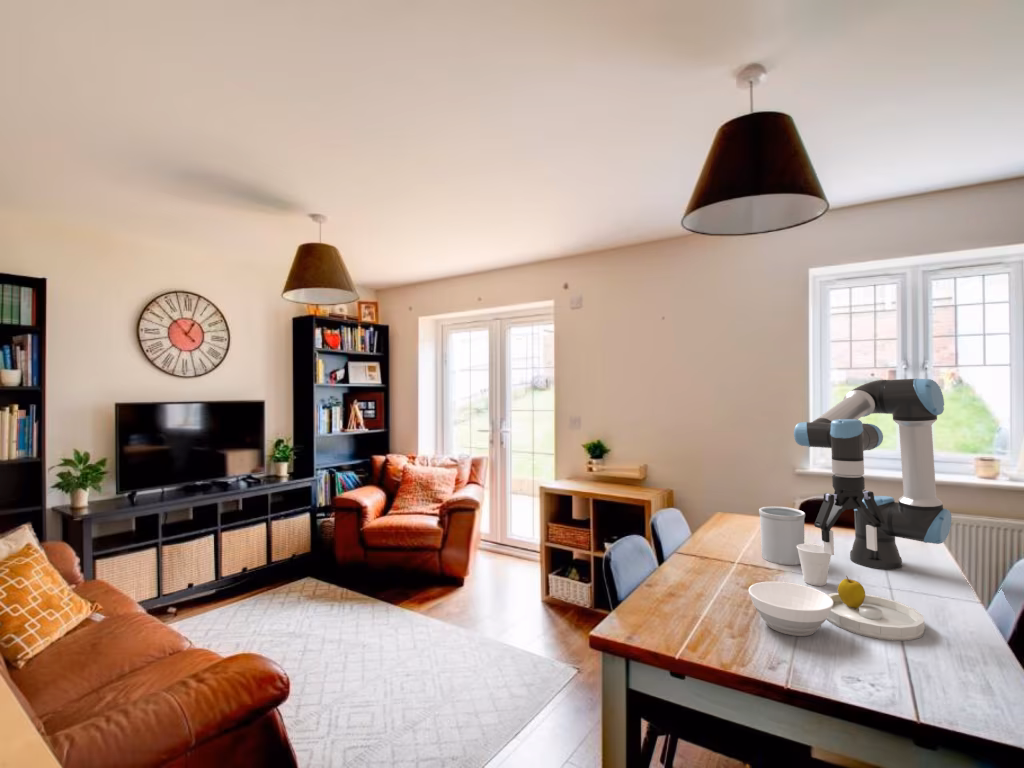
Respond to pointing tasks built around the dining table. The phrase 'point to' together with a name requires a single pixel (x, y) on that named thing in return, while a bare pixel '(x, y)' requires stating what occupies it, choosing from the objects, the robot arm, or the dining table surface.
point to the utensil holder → (781, 534)
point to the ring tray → (883, 628)
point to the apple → (851, 592)
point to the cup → (814, 563)
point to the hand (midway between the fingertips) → (850, 551)
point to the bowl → (791, 607)
